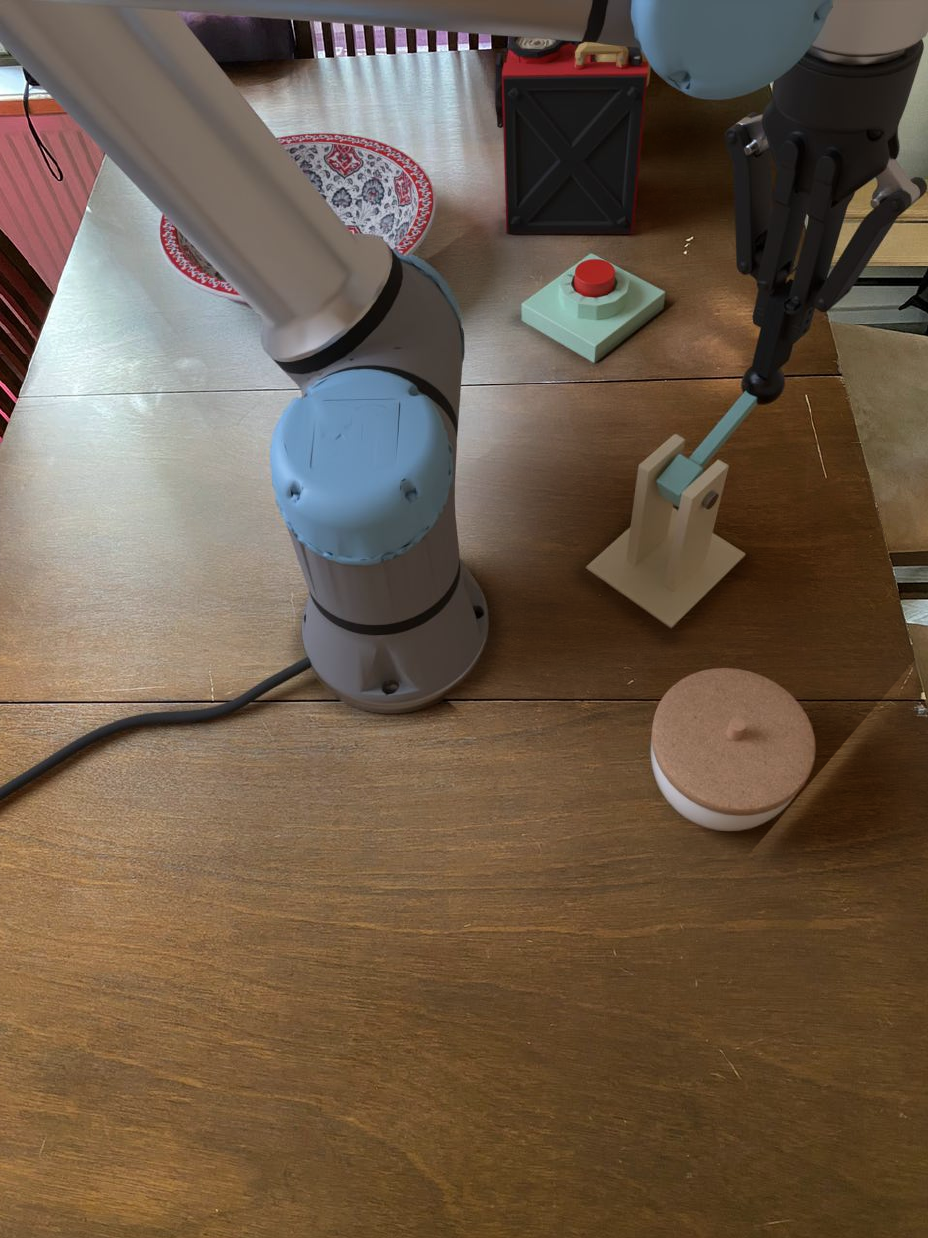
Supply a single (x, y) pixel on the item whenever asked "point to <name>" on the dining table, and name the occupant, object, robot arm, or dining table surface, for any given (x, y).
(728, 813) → the trinket box
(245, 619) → the dining table surface
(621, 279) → the button box
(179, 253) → the ceramic bowl
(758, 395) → the switch
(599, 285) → the button
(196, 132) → the robot arm
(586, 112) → the black and red jerrycan
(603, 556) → the bracket
